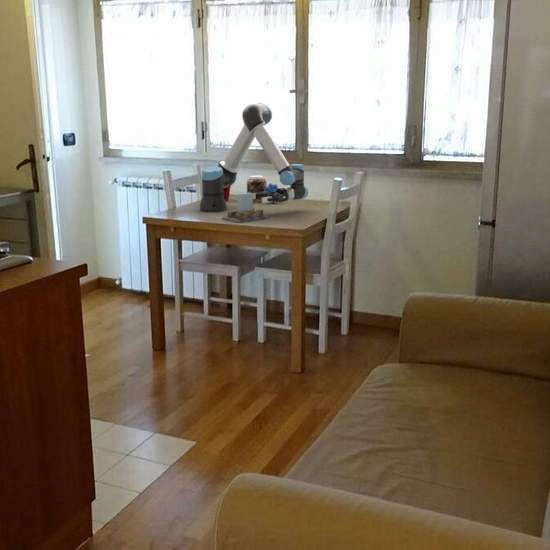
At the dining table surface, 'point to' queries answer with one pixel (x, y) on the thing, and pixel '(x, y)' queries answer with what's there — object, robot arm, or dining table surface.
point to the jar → (256, 186)
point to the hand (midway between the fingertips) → (253, 198)
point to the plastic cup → (226, 193)
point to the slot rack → (245, 215)
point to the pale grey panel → (245, 202)
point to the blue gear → (271, 188)
